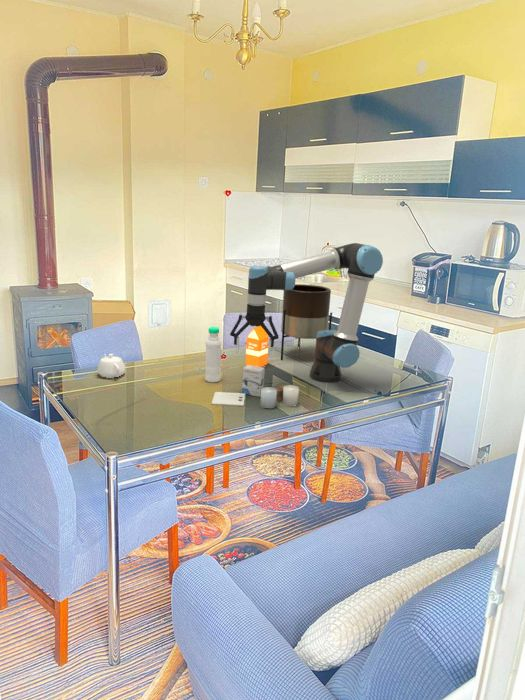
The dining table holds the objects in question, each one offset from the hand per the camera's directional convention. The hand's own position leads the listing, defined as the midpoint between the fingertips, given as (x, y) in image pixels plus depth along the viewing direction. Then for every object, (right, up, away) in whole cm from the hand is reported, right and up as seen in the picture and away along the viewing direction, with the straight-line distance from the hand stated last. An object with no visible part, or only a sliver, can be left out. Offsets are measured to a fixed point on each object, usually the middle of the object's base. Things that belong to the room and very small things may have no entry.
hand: (253, 353), depth 217 cm
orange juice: (+1, -6, +45) cm, 45 cm away
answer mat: (-10, -19, -3) cm, 22 cm away
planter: (+25, -2, +62) cm, 67 cm away
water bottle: (-19, -13, +19) cm, 30 cm away
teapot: (-66, -10, +20) cm, 70 cm away
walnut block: (+11, -19, +1) cm, 22 cm away
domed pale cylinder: (+6, -21, -7) cm, 23 cm away
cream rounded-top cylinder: (+15, -21, -4) cm, 26 cm away
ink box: (0, -18, +5) cm, 18 cm away
